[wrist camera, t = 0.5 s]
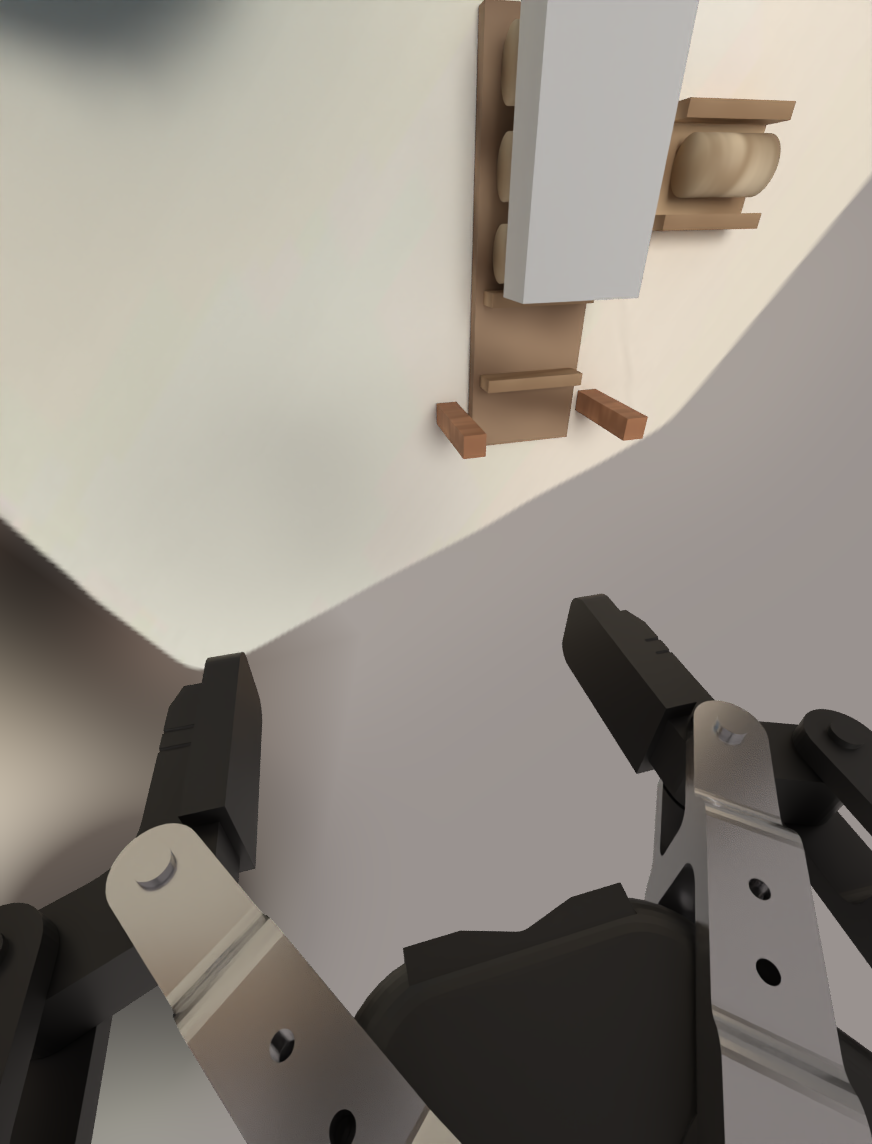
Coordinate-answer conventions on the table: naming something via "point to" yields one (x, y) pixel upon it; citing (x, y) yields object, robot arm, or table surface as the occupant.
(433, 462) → the table surface
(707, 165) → the dowel
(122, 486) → the table surface
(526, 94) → the slab
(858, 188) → the table surface
